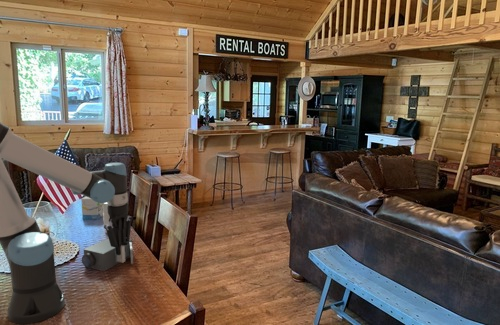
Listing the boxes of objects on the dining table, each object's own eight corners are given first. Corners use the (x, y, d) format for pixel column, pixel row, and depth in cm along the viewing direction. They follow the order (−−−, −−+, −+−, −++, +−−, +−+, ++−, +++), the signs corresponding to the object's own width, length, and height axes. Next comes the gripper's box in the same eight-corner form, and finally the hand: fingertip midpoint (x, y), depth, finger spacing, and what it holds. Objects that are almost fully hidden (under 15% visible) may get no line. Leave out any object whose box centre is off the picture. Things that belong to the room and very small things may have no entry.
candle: (120, 231, 180) (118, 202, 178) (105, 234, 176) (103, 204, 174) (116, 227, 186) (115, 199, 183) (102, 230, 182) (100, 201, 179)
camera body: (99, 273, 137) (98, 254, 136) (80, 268, 141) (78, 249, 140) (133, 255, 154) (132, 237, 152) (115, 250, 158) (114, 233, 157)
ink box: (97, 219, 197) (96, 198, 195) (82, 219, 198) (80, 198, 195) (104, 214, 206) (103, 194, 204) (89, 214, 206) (87, 194, 204)
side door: (133, 264, 145) (133, 249, 143) (130, 264, 144) (129, 249, 143) (132, 255, 152) (131, 241, 151) (129, 255, 152) (128, 241, 151)
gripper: (112, 209, 132) (116, 270, 136) (137, 200, 143) (140, 256, 148) (96, 206, 135) (101, 266, 139) (122, 197, 146) (126, 253, 151)
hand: (121, 261), depth 143 cm, fingers closed
